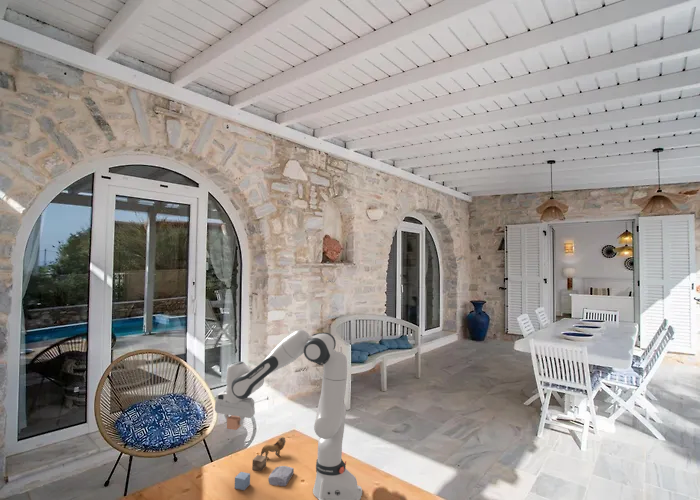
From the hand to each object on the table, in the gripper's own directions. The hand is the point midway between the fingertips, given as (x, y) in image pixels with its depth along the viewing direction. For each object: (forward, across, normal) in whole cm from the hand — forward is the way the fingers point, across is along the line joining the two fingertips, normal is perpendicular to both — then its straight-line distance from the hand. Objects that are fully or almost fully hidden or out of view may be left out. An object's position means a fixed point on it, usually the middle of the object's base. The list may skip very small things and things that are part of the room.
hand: (234, 423), depth 192 cm
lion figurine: (+24, -11, -20) cm, 34 cm away
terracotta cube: (+2, 0, 0) cm, 2 cm away
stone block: (+25, -24, -3) cm, 34 cm away
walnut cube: (+24, -10, -8) cm, 27 cm away
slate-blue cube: (+24, -10, +8) cm, 27 cm away
